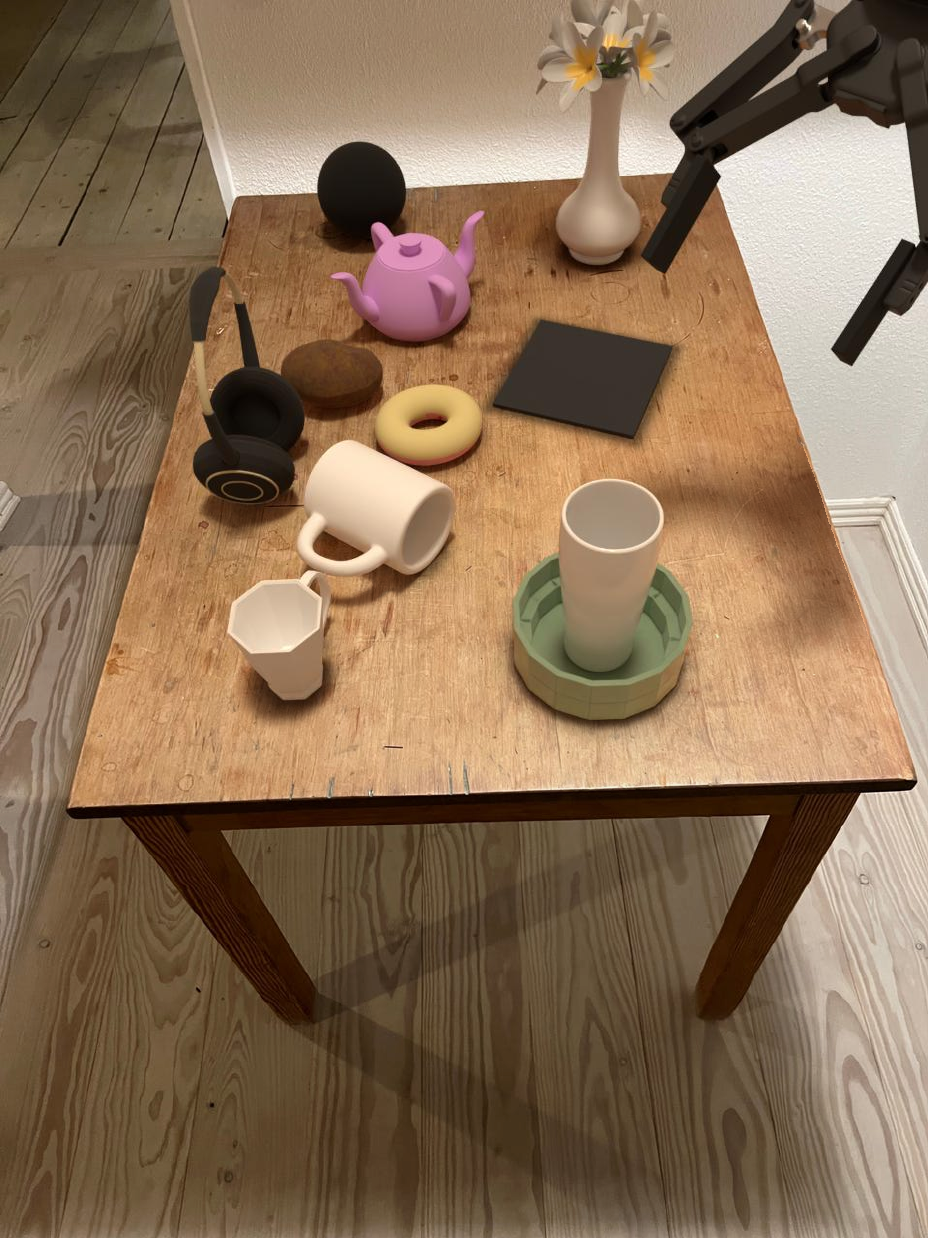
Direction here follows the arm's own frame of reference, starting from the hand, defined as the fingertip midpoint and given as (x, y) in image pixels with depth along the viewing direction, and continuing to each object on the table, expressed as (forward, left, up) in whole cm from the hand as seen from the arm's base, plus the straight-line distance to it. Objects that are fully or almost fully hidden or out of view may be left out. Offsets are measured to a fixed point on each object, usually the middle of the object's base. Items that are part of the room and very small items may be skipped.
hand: (741, 309), depth 56 cm
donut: (+26, -9, -26) cm, 38 cm away
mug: (+25, +6, -26) cm, 37 cm away
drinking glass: (+4, +9, -25) cm, 27 cm away
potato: (+37, -11, -26) cm, 47 cm away
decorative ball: (+47, -39, -26) cm, 67 cm away
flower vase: (+21, -44, -26) cm, 55 cm away
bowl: (+4, +9, -26) cm, 28 cm away
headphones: (+39, +1, -26) cm, 47 cm away
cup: (+25, +18, -26) cm, 41 cm away
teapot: (+35, -26, -26) cm, 51 cm away
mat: (+15, -22, -26) cm, 37 cm away
